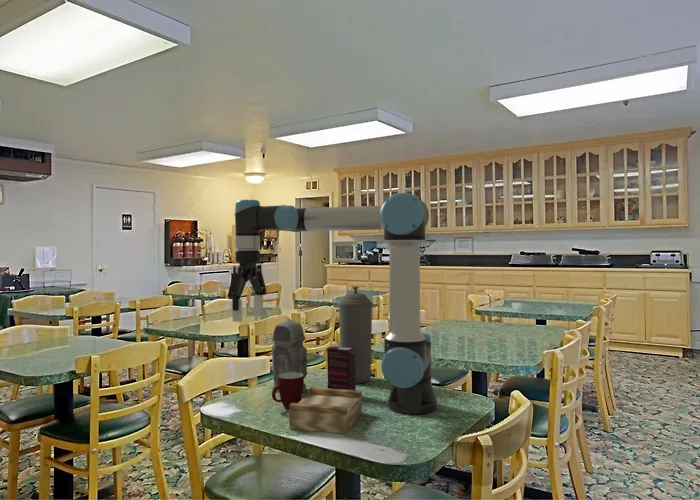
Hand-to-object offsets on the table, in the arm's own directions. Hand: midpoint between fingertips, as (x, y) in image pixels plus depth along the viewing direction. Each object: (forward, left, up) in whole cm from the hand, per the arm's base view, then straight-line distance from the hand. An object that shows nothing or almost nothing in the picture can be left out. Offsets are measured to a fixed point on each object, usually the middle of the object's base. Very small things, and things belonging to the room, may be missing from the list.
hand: (248, 318), depth 156 cm
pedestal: (-27, +5, -28) cm, 39 cm away
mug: (-12, -2, -28) cm, 31 cm away
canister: (-24, -39, -28) cm, 54 cm away
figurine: (-5, -21, -28) cm, 36 cm away
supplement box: (-24, -20, -28) cm, 42 cm away
